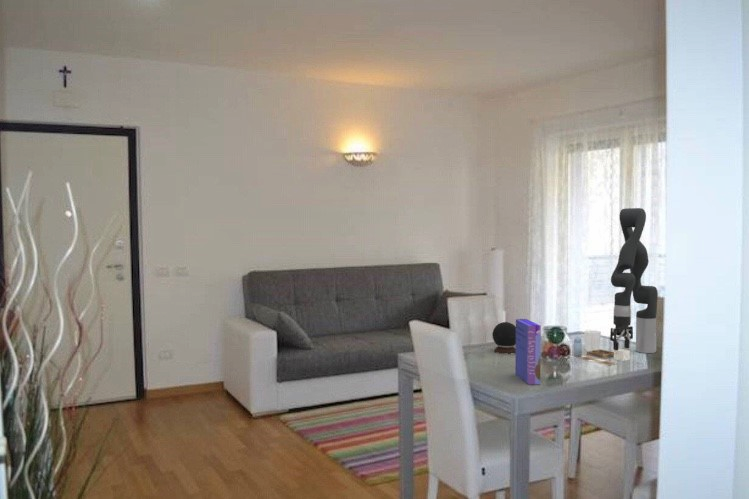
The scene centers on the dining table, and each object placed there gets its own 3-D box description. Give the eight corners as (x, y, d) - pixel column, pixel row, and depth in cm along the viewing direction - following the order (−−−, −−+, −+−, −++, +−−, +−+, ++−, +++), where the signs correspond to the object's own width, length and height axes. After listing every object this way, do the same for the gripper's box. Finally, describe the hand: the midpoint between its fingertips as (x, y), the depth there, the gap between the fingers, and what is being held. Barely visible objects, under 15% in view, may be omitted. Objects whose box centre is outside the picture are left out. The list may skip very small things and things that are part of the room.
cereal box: (540, 384, 251) (540, 325, 250) (528, 385, 250) (529, 325, 249) (526, 374, 268) (526, 318, 267) (515, 374, 268) (515, 318, 267)
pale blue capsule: (576, 355, 303) (577, 336, 303) (583, 356, 300) (583, 337, 300) (572, 356, 301) (572, 336, 301) (578, 357, 298) (578, 337, 298)
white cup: (583, 352, 314) (583, 332, 314) (584, 349, 322) (584, 329, 321) (600, 353, 311) (600, 333, 311) (600, 350, 319) (601, 330, 318)
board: (577, 355, 305) (577, 354, 305) (617, 364, 287) (617, 362, 287) (568, 357, 301) (568, 356, 301) (607, 366, 283) (607, 364, 283)
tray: (599, 353, 310) (599, 349, 310) (617, 357, 302) (617, 352, 302) (586, 356, 304) (586, 351, 304) (604, 359, 296) (604, 355, 296)
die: (620, 359, 298) (620, 348, 298) (629, 361, 294) (629, 350, 294) (613, 360, 295) (613, 349, 295) (623, 362, 291) (623, 351, 291)
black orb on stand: (524, 352, 314) (524, 322, 313) (506, 355, 306) (506, 325, 306) (505, 348, 325) (505, 319, 324) (486, 351, 317) (487, 321, 316)
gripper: (624, 313, 301) (623, 346, 301) (605, 314, 293) (605, 349, 293) (638, 314, 295) (637, 349, 295) (620, 316, 287) (619, 351, 287)
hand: (621, 349), depth 294 cm, fingers open, 8 cm apart
